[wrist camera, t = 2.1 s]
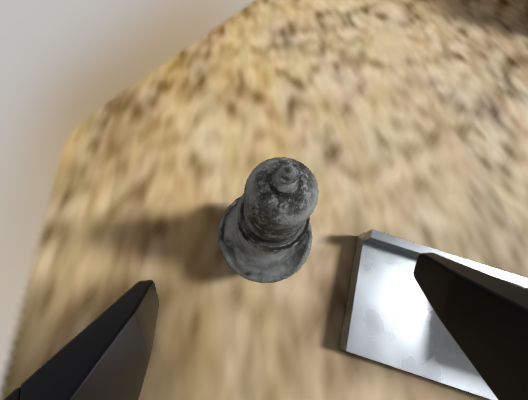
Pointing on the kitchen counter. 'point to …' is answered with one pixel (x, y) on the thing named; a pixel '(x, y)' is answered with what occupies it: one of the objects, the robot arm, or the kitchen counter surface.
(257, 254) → the dark grey tall piece
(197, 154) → the kitchen counter surface
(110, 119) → the kitchen counter surface
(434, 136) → the kitchen counter surface
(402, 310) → the rail
